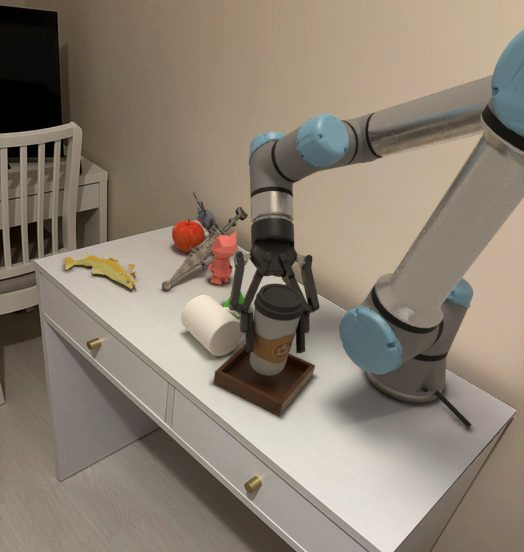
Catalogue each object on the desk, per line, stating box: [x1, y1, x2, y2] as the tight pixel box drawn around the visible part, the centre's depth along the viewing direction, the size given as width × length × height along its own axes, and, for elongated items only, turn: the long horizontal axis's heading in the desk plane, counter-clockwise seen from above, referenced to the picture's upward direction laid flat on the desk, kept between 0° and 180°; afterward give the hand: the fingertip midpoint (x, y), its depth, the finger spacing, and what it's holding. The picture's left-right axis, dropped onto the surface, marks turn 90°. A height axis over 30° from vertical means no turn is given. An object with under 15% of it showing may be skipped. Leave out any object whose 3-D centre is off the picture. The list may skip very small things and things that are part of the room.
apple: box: [171, 218, 206, 253], centre depth 134 cm, size 8×8×8 cm
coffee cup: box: [250, 283, 304, 376], centre depth 95 cm, size 8×8×15 cm
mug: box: [180, 294, 244, 357], centre depth 107 cm, size 12×10×8 cm
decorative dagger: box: [161, 206, 249, 291], centre depth 127 cm, size 7×2×30 cm
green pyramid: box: [222, 291, 250, 318], centre depth 117 cm, size 6×6×6 cm
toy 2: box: [192, 191, 217, 231], centre depth 136 cm, size 15×4×15 cm
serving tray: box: [213, 343, 316, 417], centre depth 100 cm, size 14×14×3 cm
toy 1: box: [64, 253, 138, 290], centre depth 121 cm, size 20×3×10 cm
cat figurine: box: [207, 230, 239, 285], centre depth 123 cm, size 7×7×12 cm
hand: (275, 351), depth 93 cm, fingers closed on coffee cup, 8 cm apart
